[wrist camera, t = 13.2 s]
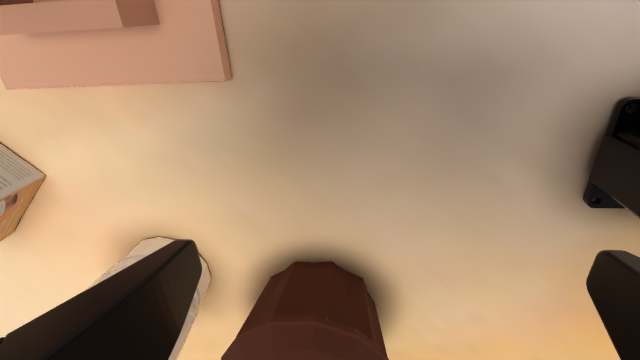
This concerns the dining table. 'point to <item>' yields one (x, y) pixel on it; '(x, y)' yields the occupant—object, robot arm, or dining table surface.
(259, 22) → the dining table surface
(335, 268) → the muffin
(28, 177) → the small box
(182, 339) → the white cup
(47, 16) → the pink square stand base
